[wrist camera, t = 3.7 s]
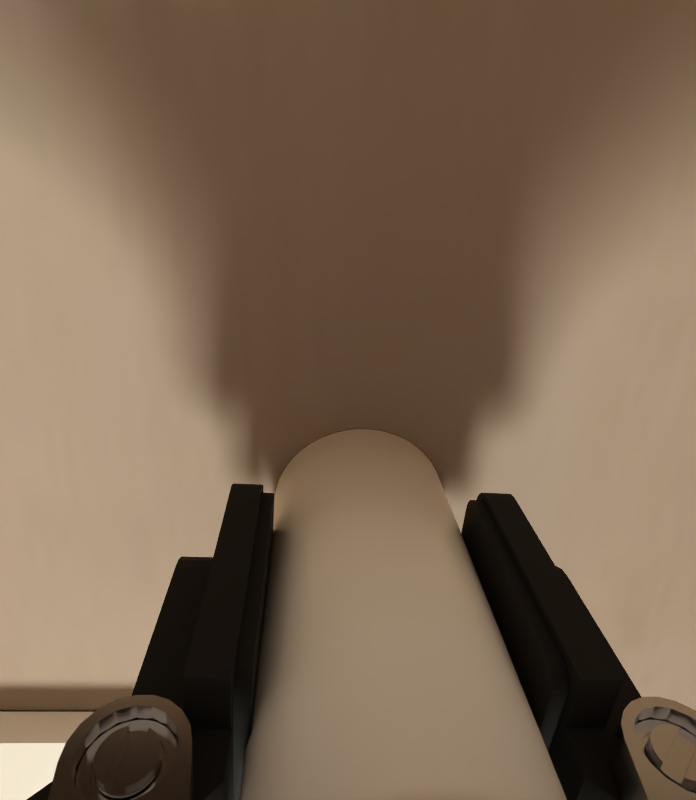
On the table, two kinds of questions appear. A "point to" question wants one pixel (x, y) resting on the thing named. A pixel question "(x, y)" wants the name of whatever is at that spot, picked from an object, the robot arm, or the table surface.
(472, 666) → the marker
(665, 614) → the table surface
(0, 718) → the colouring board
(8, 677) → the table surface
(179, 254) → the table surface
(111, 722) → the robot arm
